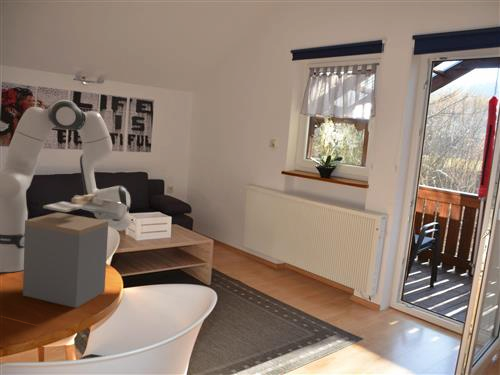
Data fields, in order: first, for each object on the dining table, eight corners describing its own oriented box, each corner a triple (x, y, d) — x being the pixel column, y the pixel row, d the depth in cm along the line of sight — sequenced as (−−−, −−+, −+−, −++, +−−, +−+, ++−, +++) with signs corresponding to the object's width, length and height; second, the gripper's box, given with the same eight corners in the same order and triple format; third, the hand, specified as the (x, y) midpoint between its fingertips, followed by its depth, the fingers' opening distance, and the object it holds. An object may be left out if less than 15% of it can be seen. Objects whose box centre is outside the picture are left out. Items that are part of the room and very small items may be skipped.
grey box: (22, 295, 156) (24, 220, 152) (55, 280, 171) (57, 212, 167) (76, 307, 150) (79, 230, 146) (104, 291, 165) (108, 221, 162)
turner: (84, 198, 175) (84, 192, 175) (104, 202, 173) (104, 195, 172) (43, 208, 154) (43, 200, 154) (65, 212, 152) (66, 204, 151)
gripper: (86, 199, 186) (67, 186, 174) (131, 206, 181) (115, 193, 169) (80, 214, 184) (61, 201, 172) (126, 221, 179) (109, 209, 166)
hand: (88, 197), depth 170 cm, fingers closed on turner, 2 cm apart
